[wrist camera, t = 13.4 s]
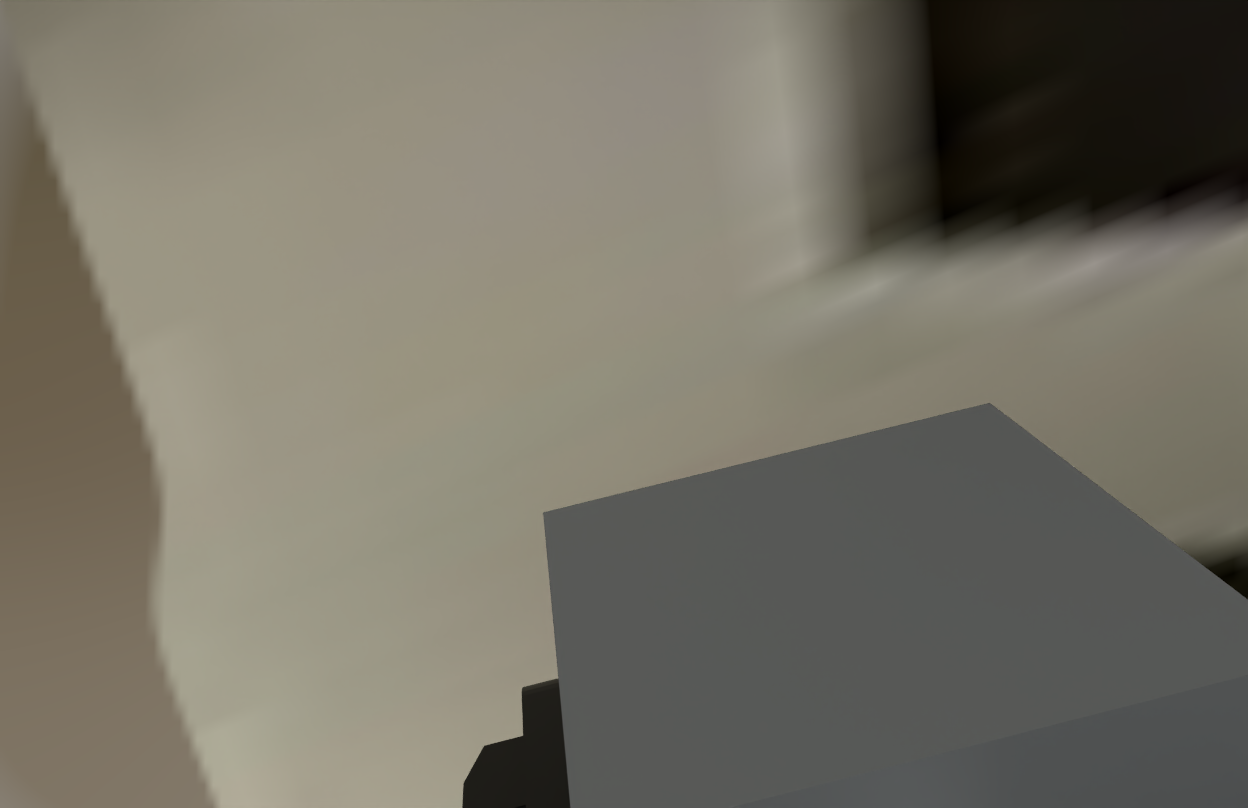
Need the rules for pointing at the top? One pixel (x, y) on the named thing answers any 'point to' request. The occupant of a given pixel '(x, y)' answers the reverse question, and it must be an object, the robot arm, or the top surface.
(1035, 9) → the top surface
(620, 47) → the top surface
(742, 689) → the grey block
